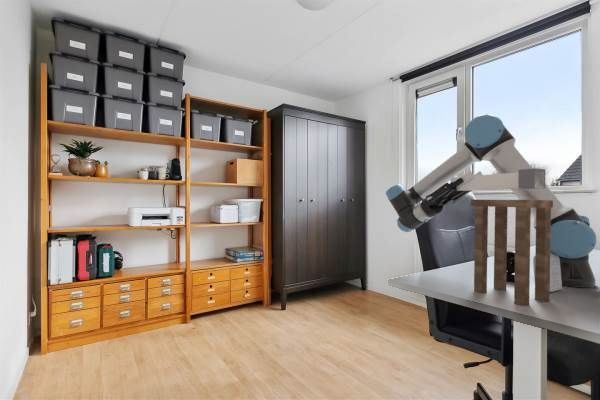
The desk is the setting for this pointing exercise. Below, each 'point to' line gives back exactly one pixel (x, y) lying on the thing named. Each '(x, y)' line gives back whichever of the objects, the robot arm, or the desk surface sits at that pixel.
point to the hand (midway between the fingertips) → (476, 174)
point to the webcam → (510, 266)
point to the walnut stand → (520, 247)
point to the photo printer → (553, 272)
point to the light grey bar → (506, 181)
